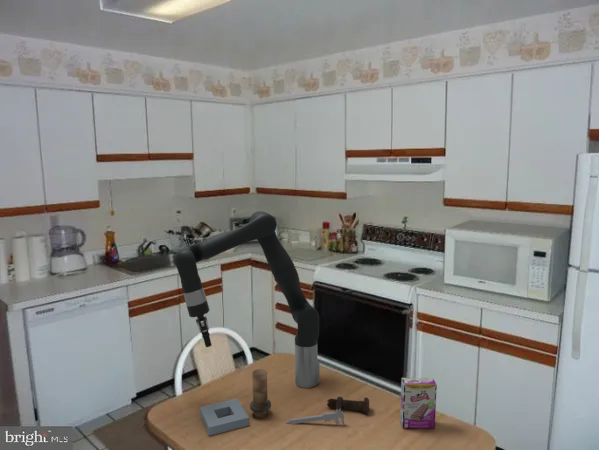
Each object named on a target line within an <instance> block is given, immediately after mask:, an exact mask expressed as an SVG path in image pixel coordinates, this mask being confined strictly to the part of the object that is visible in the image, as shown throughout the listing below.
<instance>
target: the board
mask: <svg viewBox="0 0 599 450" xmlns="http://www.w3.org/2000/svg"><path fill="white" fill-rule="evenodd" d="M199 413H200V418H201V420H202V423H203V424H204V427H205V429H206V432H207V434H208V436H215V435H218V434H222V433H225V432H229V431H233V430H237V429H241V428H244V427H249V426H250V417H249V415H248V413H247V412H246V410H245V408H244V406H243V405H242V403H241V401H240V400H239V399H238V398H233V399H230V400H226V401H219V402H216V403H213V404H208V405H204V406H200V407H199Z"/></svg>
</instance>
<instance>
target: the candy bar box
mask: <svg viewBox="0 0 599 450" xmlns="http://www.w3.org/2000/svg"><path fill="white" fill-rule="evenodd" d="M437 386H438V385H437V383H436V381H435V379H434V377H401V381H400V411H399V413H400V414H399V418H400V419H399V421H400V424H401V427H402V429H403V430H404V429H405V430H406V429H407V430H408V429H409V430H410V429H413V430H414V429H420V430H421V429H422V430H425V429H426V430H427V429H428V430H429V429H432V430H433V429H435V428H436V427H435V426H436V412H437V411H436V409H437V407H436V406H437V405H436V403H437V391H438V390H437V389H438V388H437Z"/></svg>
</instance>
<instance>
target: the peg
mask: <svg viewBox="0 0 599 450" xmlns="http://www.w3.org/2000/svg"><path fill="white" fill-rule="evenodd" d="M251 374H252V375H251V376H252V400H251V401H250V403H249V409H250V410H251V411H252V412H254V416H255V417H256V418H259V419H260V418H264V417H266V416H267V414H268V411H269V410H270V409H271V408H272V402H271V400H269V399H268V371H267V370H266V369H264V368H261V369H260V368H259V369H255V370H253V371H252V373H251Z"/></svg>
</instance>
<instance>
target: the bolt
mask: <svg viewBox="0 0 599 450" xmlns="http://www.w3.org/2000/svg"><path fill="white" fill-rule="evenodd" d="M326 402H327V403H326V405H327V407H328V408H333V409H338V411H339V409H341V411H343V410H355V411H360V412H363V414H364V415H369V412H370V399H369V397H364V398H363V400H350V399H344V398H343V397H342V396H337V397H336V398H329V399H327V401H326Z"/></svg>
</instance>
